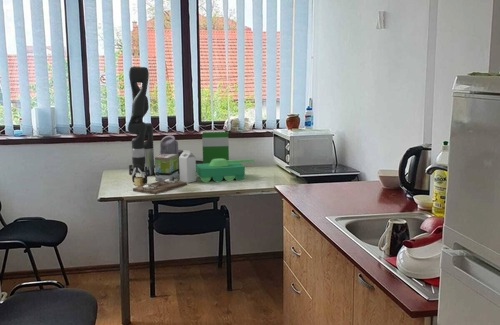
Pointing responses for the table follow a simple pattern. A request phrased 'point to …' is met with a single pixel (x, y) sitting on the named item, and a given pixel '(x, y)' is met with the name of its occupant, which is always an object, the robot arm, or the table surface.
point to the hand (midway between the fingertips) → (139, 183)
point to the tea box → (166, 166)
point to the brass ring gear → (139, 181)
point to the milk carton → (187, 166)
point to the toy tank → (222, 170)
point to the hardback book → (215, 146)
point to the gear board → (160, 186)
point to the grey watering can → (170, 147)
